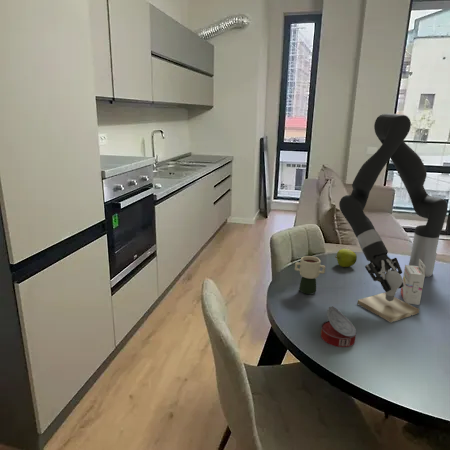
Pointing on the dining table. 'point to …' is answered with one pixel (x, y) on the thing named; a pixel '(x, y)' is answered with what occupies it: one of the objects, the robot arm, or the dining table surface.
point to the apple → (346, 257)
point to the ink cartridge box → (413, 283)
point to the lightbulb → (392, 283)
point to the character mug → (309, 273)
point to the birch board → (388, 307)
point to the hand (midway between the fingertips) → (394, 289)
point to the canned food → (338, 329)
